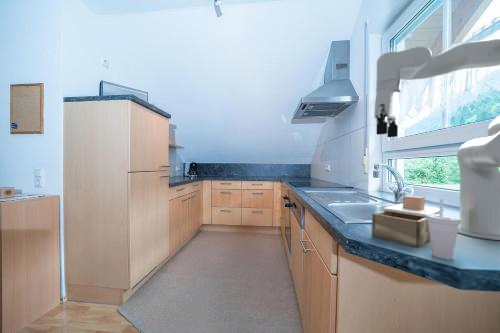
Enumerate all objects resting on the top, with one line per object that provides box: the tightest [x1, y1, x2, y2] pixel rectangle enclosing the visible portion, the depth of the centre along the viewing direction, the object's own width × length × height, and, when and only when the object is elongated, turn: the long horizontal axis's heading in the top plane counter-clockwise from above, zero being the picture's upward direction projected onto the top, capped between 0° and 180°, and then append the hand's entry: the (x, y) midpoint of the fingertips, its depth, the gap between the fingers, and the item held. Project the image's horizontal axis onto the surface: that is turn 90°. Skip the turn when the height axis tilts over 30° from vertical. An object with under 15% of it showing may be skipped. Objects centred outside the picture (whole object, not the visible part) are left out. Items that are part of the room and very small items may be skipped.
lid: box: [382, 194, 444, 217], centre depth 73 cm, size 16×12×5 cm
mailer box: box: [371, 210, 431, 249], centre depth 67 cm, size 16×12×7 cm
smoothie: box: [426, 198, 461, 261], centre depth 52 cm, size 6×6×14 cm
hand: (387, 135), depth 78 cm, fingers open, 9 cm apart
